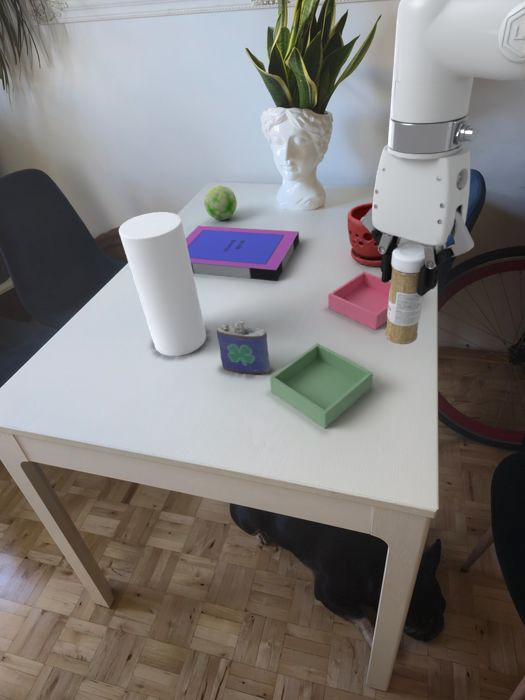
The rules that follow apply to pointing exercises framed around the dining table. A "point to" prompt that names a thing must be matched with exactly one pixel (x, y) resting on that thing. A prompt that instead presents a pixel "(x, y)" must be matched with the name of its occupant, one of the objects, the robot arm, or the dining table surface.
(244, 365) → the flask
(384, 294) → the pink bin
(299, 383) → the green bin
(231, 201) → the decorative ball
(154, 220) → the tall pillar cylinder
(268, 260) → the book
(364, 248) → the flower pot
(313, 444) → the dining table surface
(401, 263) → the sprinkles bottle
